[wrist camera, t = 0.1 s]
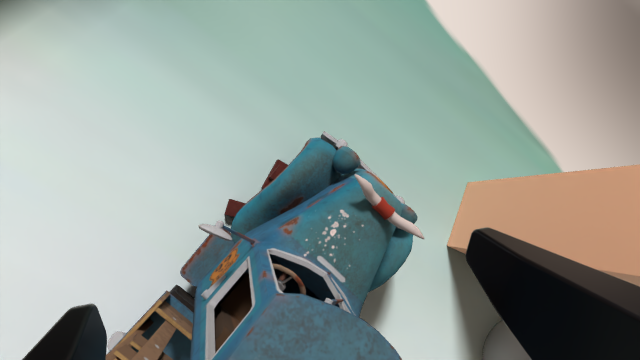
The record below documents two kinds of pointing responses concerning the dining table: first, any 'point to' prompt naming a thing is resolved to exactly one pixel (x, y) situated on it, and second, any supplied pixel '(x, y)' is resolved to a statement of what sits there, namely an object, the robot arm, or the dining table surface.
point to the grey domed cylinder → (503, 345)
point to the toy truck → (286, 270)
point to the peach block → (562, 216)
